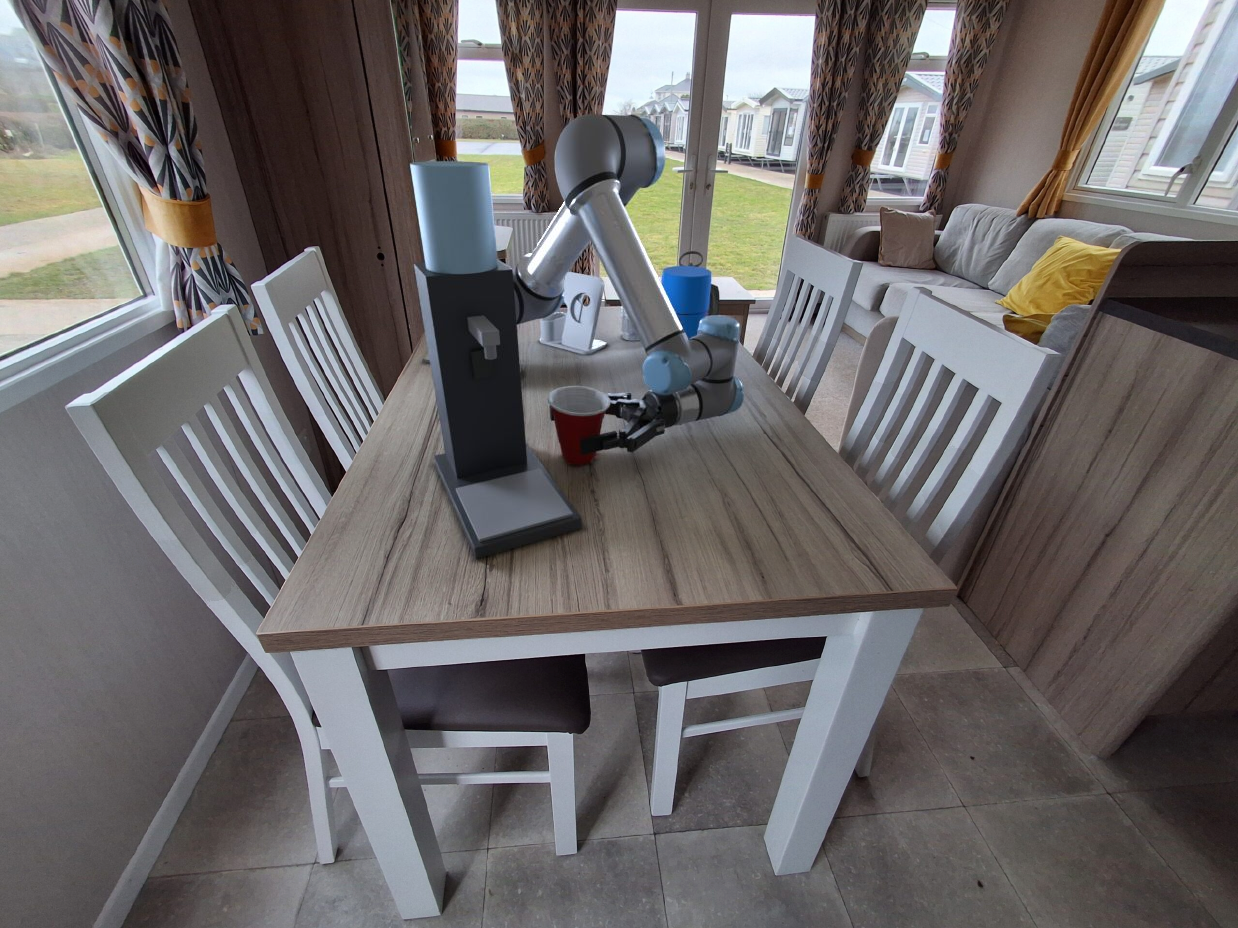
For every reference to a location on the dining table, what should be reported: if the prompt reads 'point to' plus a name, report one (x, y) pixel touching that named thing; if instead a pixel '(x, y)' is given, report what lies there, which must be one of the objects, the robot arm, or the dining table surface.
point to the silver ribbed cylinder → (627, 327)
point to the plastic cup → (577, 419)
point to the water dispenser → (479, 367)
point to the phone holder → (575, 316)
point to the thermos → (688, 294)
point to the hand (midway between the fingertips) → (564, 429)
